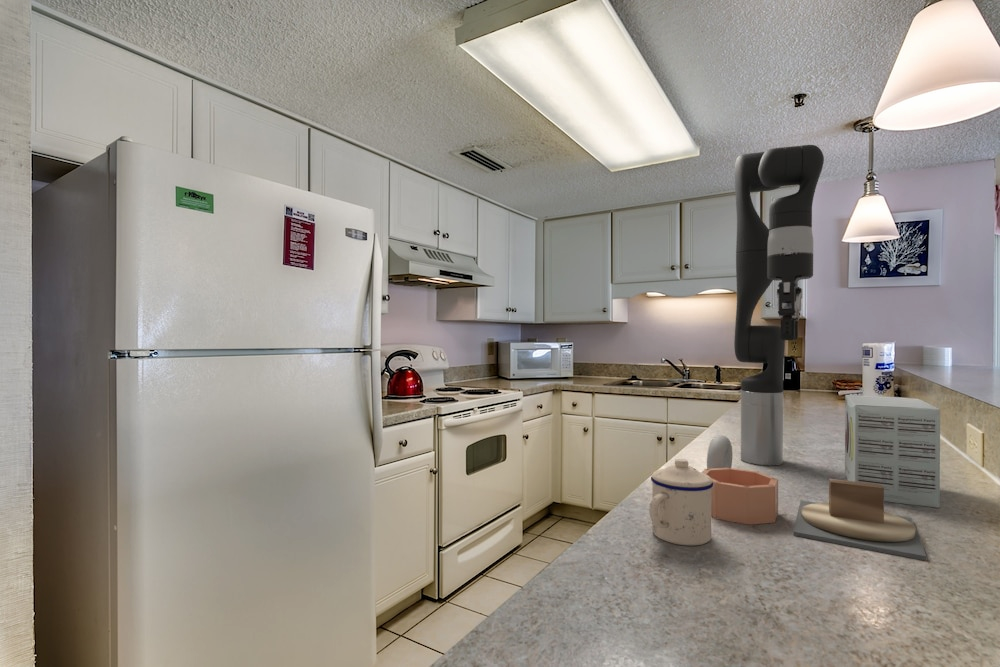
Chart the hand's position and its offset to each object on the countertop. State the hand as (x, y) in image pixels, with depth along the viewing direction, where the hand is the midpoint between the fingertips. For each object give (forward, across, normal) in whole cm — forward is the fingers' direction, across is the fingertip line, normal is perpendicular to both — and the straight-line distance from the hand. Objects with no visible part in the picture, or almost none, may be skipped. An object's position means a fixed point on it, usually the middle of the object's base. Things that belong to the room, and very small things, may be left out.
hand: (789, 340), depth 97 cm
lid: (+29, +10, +10) cm, 33 cm away
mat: (+30, +10, +10) cm, 33 cm away
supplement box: (+30, -18, +16) cm, 39 cm away
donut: (+30, -5, -13) cm, 33 cm away
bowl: (+30, +12, -7) cm, 33 cm away
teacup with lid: (+30, +30, -13) cm, 45 cm away
